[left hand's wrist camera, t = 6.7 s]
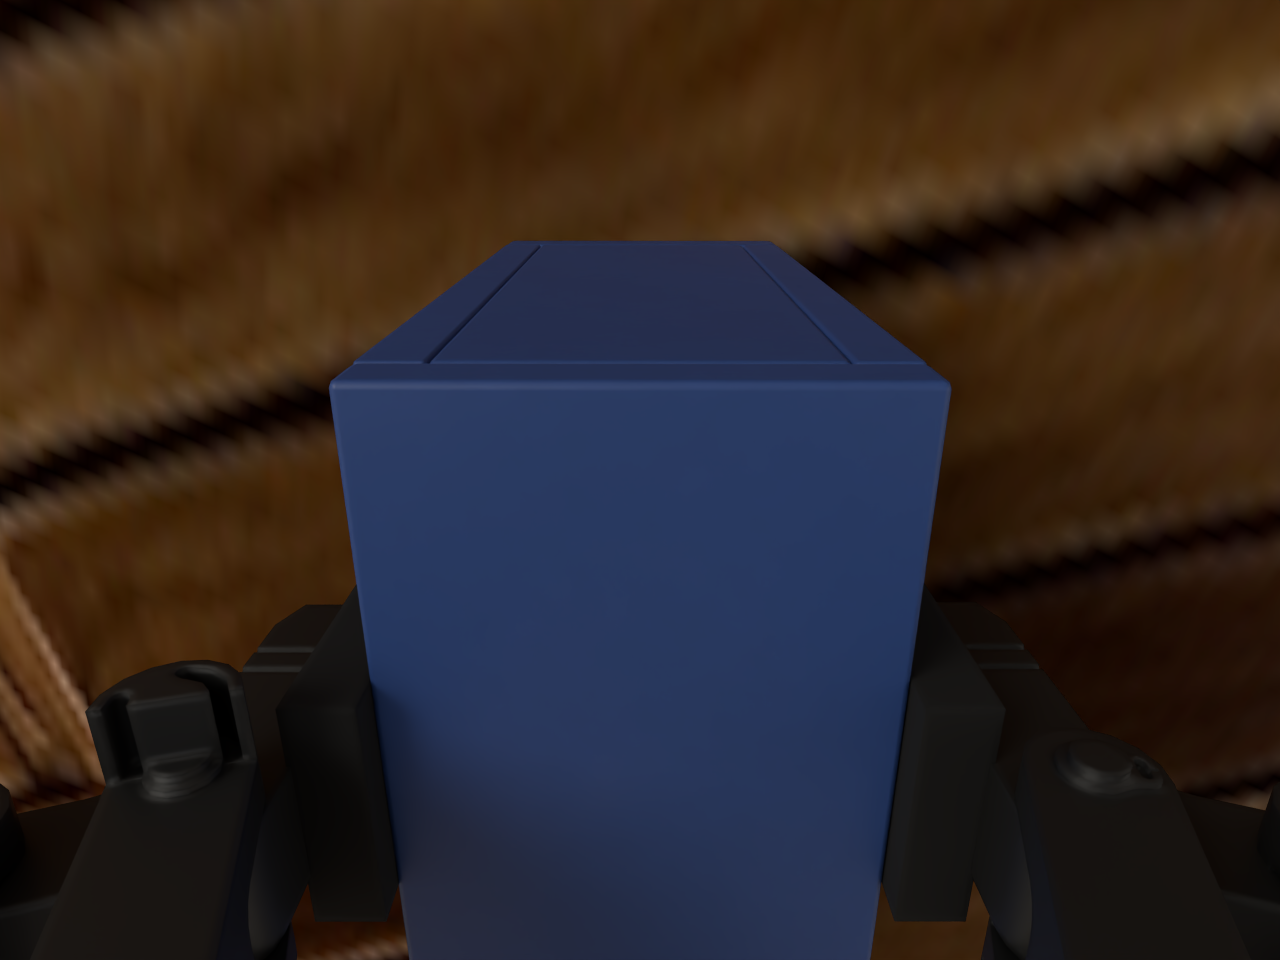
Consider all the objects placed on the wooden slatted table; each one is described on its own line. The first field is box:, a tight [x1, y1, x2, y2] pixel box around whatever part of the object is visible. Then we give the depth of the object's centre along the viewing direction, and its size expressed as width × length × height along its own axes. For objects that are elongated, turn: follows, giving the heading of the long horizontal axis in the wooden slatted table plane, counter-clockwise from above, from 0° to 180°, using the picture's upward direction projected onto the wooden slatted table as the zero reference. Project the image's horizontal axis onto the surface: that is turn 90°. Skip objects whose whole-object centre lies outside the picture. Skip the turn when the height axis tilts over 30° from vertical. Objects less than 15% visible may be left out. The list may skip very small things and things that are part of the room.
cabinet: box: [329, 241, 951, 960], centre depth 16 cm, size 19×5×11 cm, turn 0°
